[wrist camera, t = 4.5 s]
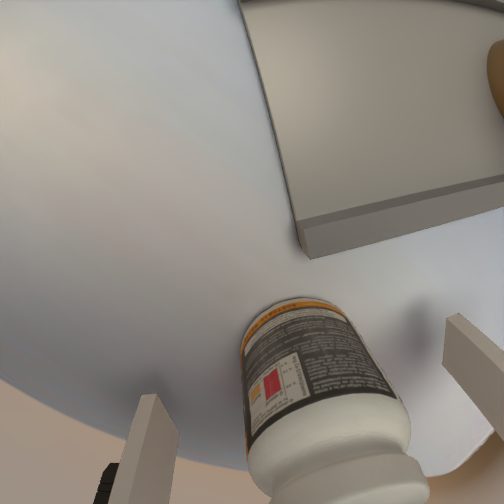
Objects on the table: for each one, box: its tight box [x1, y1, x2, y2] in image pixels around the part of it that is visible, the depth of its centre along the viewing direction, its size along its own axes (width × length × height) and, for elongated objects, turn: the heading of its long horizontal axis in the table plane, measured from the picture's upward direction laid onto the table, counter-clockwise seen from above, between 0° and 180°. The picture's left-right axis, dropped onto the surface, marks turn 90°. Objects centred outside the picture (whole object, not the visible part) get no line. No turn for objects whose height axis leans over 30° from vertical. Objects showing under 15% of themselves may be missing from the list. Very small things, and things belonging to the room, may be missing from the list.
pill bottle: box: [240, 298, 430, 504], centre depth 11 cm, size 6×6×10 cm
